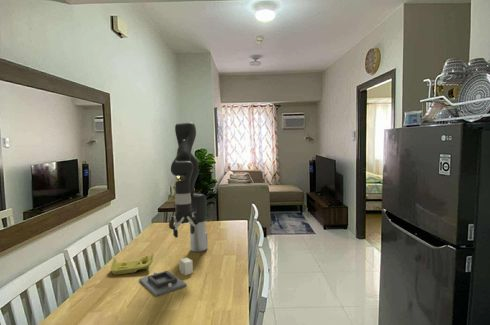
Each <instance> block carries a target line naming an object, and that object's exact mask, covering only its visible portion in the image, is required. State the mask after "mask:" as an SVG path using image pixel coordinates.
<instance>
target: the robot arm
mask: <svg viewBox="0 0 490 325" xmlns="http://www.w3.org/2000/svg"><path fill="white" fill-rule="evenodd" d="M174 129H175V130H174V132H175V137H176V141H177V145H178V147H177V150H176V156H175V158H174V160H172V162H171V165H170V172H171V174H172V175H173V176H177V177H183V179H181V180H177V181H175V184H174V185H175V186H174V187H175V189H174V190H175V198H174V201H175V202H174V203H175V204H174V205H175V206H174V208H175V215H170V216H169V217H168V218H169V219H168V223H169V224H168V228H169V229H171V230H172V232H173V233H172V234H173V236H174V238H179V237H178V236H179V234H178V233H179V230H178V228H179V227H180V226H181V225H183V224H189V238H190V239H189V240H190V244H189V246H190V251H191V252H194V253H199V252H204V251H206V250H208V249H209V246H208V244H209V243H208V232H207V226H206V225H207V224H206V221H207V220H206V219H207V218H206V217H207V208H208V207H207V206H208V205H207V204H208V202H207V196H206V195H205V194H203V193H196V190H195V184H196V181H197V178H198V176H199V171H200V169H199V163H198V160H197V158H196V157H195V155H194V154H193V153H192V150H193V145H194V143H195V141H196V140H195V139H196V137H197V128H196V125H195V123H194V122H191V121H190V122H181V123H176V124H175V125H174ZM192 210H196V211H193V212H192Z"/></svg>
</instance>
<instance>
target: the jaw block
mask: <svg viewBox="0 0 490 325" xmlns="http://www.w3.org/2000/svg"><path fill="white" fill-rule="evenodd" d="M178 263H179V265H178V266H179V267H178V268H179V269H178V270H179V272H180V273H181V274H183V275H184V276H187V275H188V276H189V275H191V274H193V272H194V270H193V269H194V268H193V267H194V266H193V265H194V264H193V259H190V258H188V257H182V258H179V260H178Z"/></svg>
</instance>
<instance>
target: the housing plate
mask: <svg viewBox="0 0 490 325" xmlns="http://www.w3.org/2000/svg"><path fill="white" fill-rule="evenodd" d="M138 281H139V282H140V283H141V284H142V285H143V286H144V287H145V288H146V289H147V290H148V291H150V293H151V294H152V295H153V296H155V297H159V296H161V295H162V296H163V295H164V294H168V293H170V292H173V291H177V290H179V289H182V288H185V287H187V283H186V282H184V280H181V278H179V277H178V276H176V274H173V273H172V272H171V271H169V270H164V271H161V272H157V271H153V274H151V275H148V276H145V277H141V278H139V279H138Z"/></svg>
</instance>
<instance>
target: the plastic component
mask: <svg viewBox="0 0 490 325" xmlns="http://www.w3.org/2000/svg"><path fill="white" fill-rule="evenodd" d="M154 255H155V253H153V252H152V253H151V255H146V256H141V257H140V258H139V259H134V260H126V261H125V260H124V261H117V259H116V258H113V260H112V262H111V266H110V270H111V272H112V274H113V275H125V274H130V273H132V274H133V273H136V272H137V271H139V270H148V269H150V266H151V265H152V263H153V261H154Z"/></svg>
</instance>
